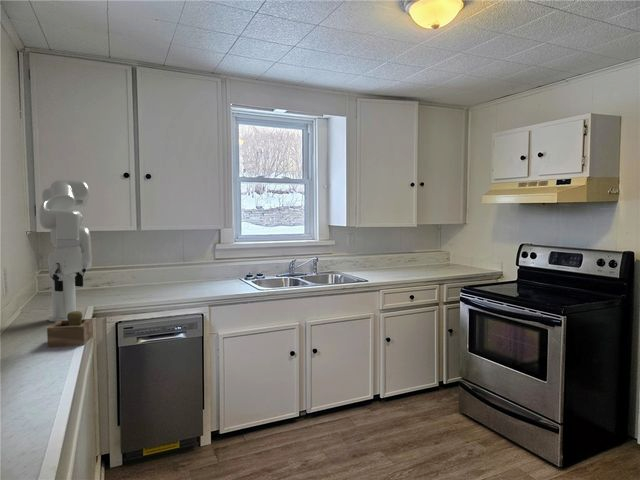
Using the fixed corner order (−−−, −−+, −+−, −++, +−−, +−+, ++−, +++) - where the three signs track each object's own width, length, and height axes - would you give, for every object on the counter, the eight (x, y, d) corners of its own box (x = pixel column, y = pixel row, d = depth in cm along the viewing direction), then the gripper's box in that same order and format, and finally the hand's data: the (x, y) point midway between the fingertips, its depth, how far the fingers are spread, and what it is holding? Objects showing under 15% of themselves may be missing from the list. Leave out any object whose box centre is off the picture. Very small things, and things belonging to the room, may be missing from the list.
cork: (87, 337, 171) (86, 309, 170) (79, 342, 165) (78, 313, 164) (72, 337, 171) (71, 309, 170) (63, 342, 165) (62, 313, 164)
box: (59, 337, 170) (58, 320, 169) (92, 336, 173) (92, 318, 172) (47, 347, 158) (47, 328, 158) (83, 345, 161) (83, 326, 161)
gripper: (77, 241, 172) (78, 284, 174) (40, 245, 156) (41, 292, 157) (93, 242, 171) (94, 285, 172) (57, 246, 154) (59, 293, 155)
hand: (69, 288), depth 165 cm, fingers open, 9 cm apart
